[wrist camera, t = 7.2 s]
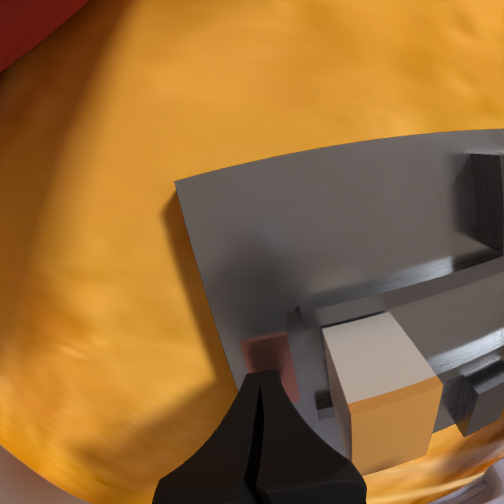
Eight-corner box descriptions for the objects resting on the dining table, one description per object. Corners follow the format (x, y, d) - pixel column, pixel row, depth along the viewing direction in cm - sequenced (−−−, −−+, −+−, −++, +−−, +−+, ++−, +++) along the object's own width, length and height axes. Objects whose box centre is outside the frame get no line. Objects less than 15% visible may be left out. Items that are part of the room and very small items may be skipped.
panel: (269, 458, 18) (271, 499, 14) (183, 178, 13) (157, 186, 9) (516, 374, 16) (538, 399, 13) (537, 128, 11) (577, 130, 8)
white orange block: (330, 396, 14) (352, 478, 9) (322, 328, 12) (351, 415, 8) (388, 380, 13) (425, 454, 9) (389, 311, 12) (443, 384, 7)
